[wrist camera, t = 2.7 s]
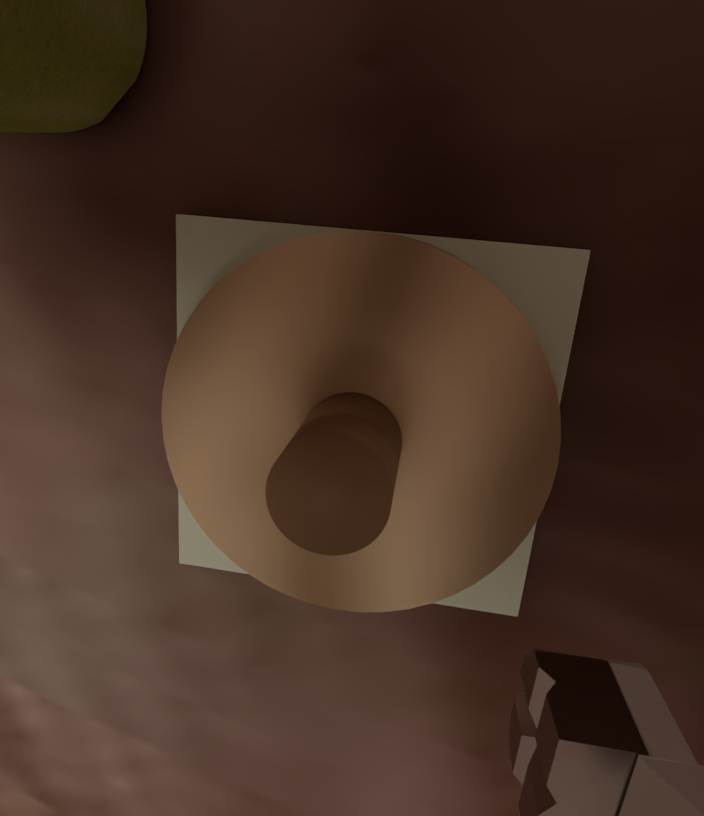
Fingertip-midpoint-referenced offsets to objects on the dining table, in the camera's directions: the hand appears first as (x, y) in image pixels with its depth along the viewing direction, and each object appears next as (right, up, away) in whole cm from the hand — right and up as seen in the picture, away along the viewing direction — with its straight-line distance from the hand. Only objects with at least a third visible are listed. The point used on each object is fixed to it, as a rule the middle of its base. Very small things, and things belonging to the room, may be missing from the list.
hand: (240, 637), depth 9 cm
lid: (+2, +3, +10) cm, 11 cm away
